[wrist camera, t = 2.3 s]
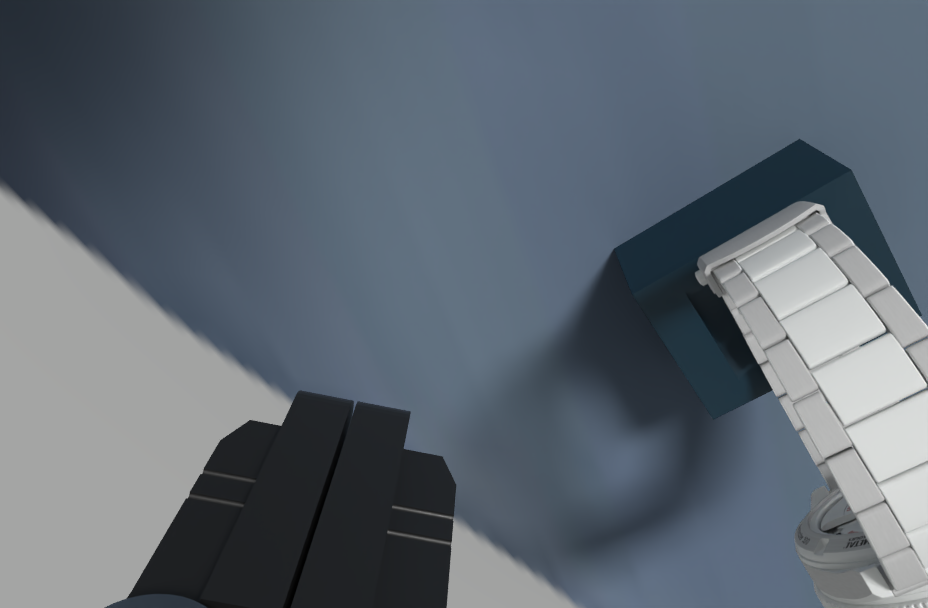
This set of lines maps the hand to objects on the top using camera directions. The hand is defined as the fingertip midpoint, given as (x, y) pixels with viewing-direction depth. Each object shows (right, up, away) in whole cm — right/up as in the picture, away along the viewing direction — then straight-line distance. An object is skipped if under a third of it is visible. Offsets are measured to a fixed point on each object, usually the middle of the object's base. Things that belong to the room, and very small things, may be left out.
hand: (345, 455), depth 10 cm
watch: (+9, +3, +11) cm, 15 cm away
